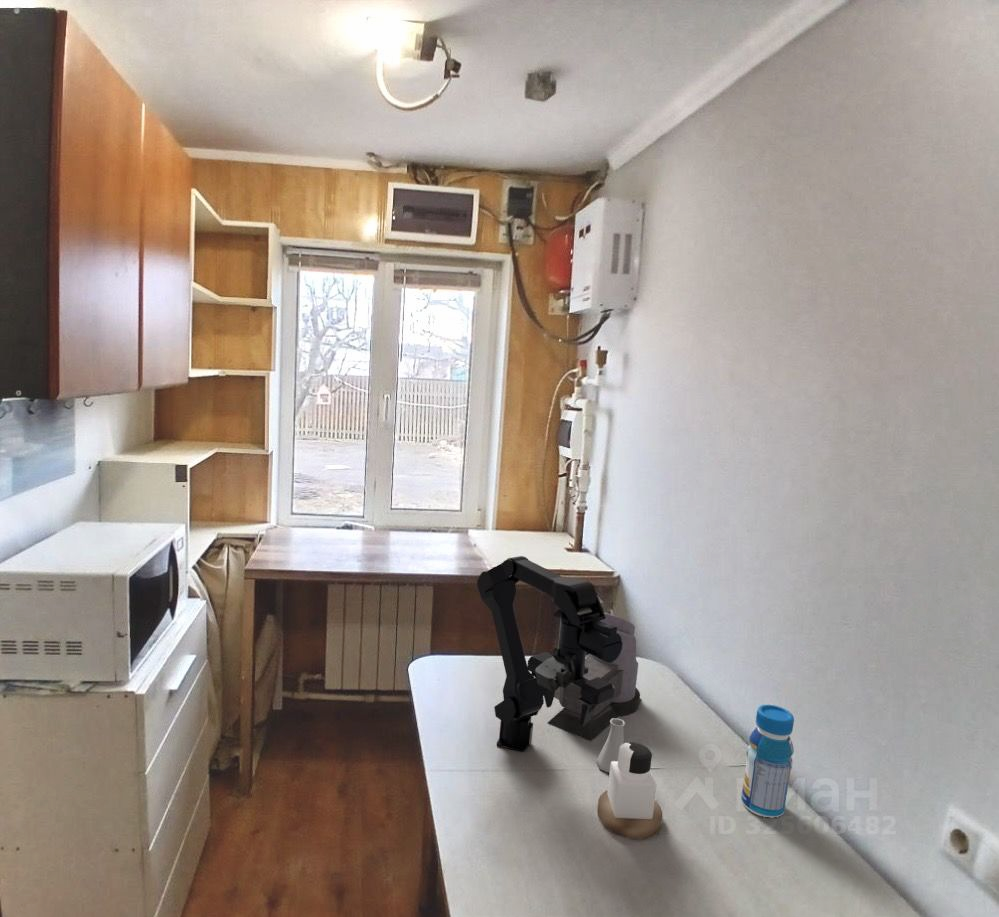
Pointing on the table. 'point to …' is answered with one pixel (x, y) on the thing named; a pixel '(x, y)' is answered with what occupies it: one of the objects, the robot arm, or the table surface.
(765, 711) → the beverage bottle
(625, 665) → the juicer
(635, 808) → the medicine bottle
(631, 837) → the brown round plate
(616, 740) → the flask
